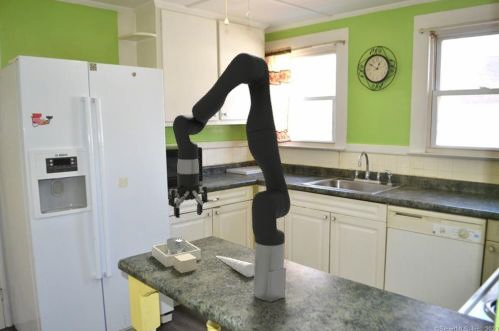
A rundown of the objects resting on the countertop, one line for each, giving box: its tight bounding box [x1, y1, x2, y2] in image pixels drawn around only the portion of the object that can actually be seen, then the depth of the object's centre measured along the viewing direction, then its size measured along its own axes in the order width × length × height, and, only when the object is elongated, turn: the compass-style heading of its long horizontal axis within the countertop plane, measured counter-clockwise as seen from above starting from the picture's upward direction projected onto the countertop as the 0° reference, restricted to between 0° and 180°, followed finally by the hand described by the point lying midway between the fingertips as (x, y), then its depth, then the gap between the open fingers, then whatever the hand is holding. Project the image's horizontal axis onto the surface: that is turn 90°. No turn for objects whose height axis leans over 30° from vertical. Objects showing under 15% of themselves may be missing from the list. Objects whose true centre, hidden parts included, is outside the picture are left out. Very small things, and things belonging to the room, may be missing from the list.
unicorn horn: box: [215, 255, 254, 278], centre depth 145 cm, size 5×24×5 cm, turn 33°
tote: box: [151, 239, 202, 268], centre depth 151 cm, size 14×14×4 cm
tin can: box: [166, 236, 186, 256], centre depth 150 cm, size 7×7×7 cm
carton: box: [173, 253, 198, 274], centre depth 140 cm, size 6×6×5 cm
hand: (188, 216), depth 140 cm, fingers open, 8 cm apart
